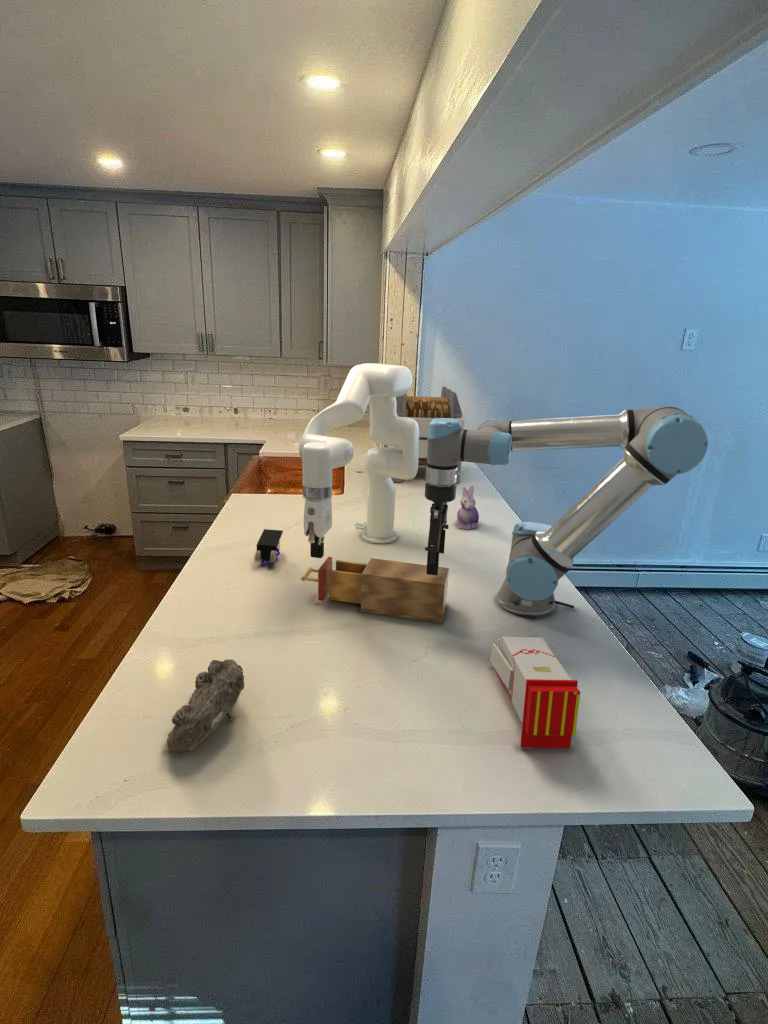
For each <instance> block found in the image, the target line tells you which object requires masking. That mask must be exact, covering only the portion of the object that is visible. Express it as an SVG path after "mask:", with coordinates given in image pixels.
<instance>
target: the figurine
mask: <svg viewBox="0 0 768 1024" xmlns="http://www.w3.org/2000/svg"><path fill="white" fill-rule="evenodd" d="M474 489H475V487H474V485H471V486H470V487H469V489H468V490H467V488H466V487H465V486H461V493H462V497H461V500H460V506H461V508H459V509H458V510H457V513H456V517H457V518H456V522H455V523H456V526H458V528H459V529H463V530H470V529H475V528H477V526H478V524H479V520H480V515H479V511H478V509H477V507H476V503H477V502H476V499H475V496H474Z"/></svg>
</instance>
